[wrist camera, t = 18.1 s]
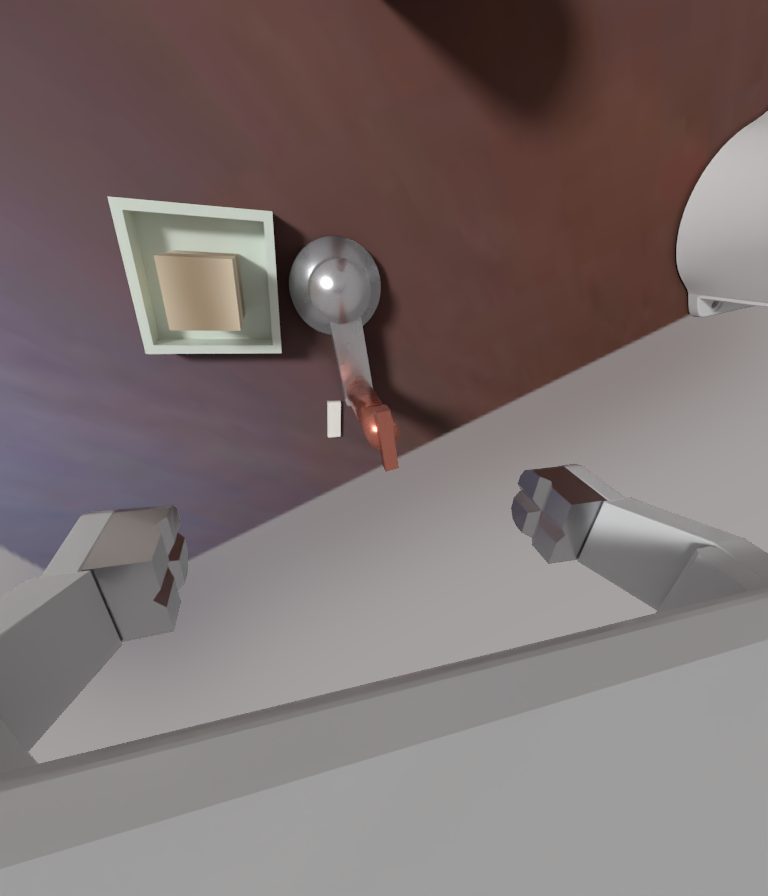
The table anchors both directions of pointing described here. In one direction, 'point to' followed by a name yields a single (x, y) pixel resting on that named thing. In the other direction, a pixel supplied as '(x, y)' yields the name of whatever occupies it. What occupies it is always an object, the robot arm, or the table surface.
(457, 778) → the robot arm
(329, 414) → the strip
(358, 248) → the crank plinth
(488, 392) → the table surface
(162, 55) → the table surface
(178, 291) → the block
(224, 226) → the tray
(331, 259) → the crank
